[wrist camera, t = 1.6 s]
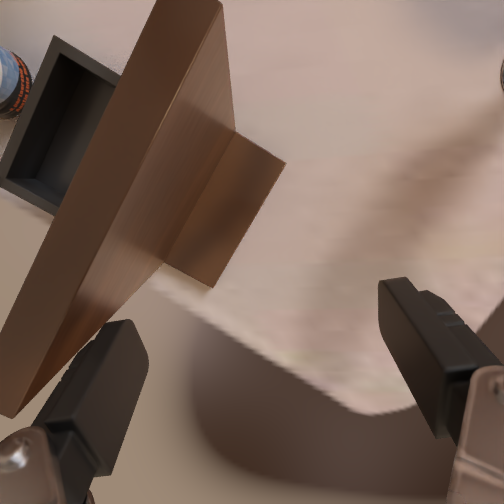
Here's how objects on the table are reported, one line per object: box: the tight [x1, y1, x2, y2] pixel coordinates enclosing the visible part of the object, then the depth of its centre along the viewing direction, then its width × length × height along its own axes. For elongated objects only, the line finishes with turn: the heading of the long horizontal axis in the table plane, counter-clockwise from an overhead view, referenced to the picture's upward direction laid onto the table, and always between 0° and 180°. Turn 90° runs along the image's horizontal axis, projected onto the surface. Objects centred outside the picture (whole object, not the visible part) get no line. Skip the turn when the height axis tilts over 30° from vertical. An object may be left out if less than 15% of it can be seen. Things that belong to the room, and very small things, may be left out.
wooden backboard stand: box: [0, 0, 286, 419], centre depth 21 cm, size 19×15×24 cm
